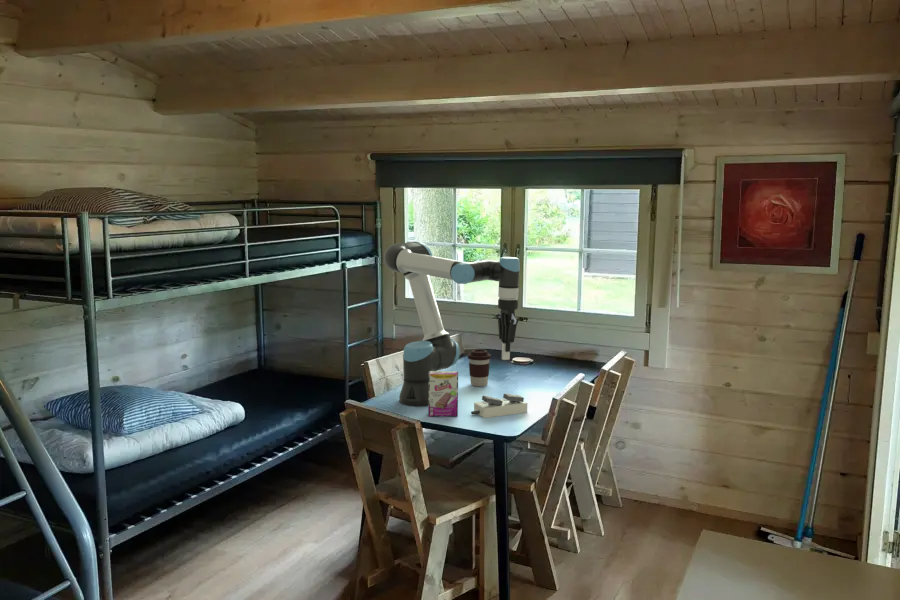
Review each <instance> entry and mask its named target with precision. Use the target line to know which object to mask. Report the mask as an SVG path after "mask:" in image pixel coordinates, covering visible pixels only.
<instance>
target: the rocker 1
mask: <svg viewBox="0 0 900 600" xmlns="http://www.w3.org/2000/svg"><path fill="white" fill-rule="evenodd" d="M500 399H501V398H497V397H492V396H489V395H482V396H481V400H482V401H485V402H488V403H493V404H498V405H502V402H503V401H502V400H500Z"/></svg>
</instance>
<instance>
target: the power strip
mask: <svg viewBox="0 0 900 600" xmlns="http://www.w3.org/2000/svg"><path fill="white" fill-rule="evenodd" d="M499 399H500V400H502V401H503V402H502V405H498V404H493V403H488V402H485V401H483V400H482V401H475V402H474V403H473V410H472V411H471V412H470V413H471V415H472V416H473V415H479V416H481V418H484V419H486V418H496V417H503V416H509V415H515V414H523V413H524V414H526V413H528V402H525V401H524V400H523V402H520V401H511V400H506V399H505V398H499Z"/></svg>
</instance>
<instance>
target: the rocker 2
mask: <svg viewBox="0 0 900 600" xmlns="http://www.w3.org/2000/svg"><path fill="white" fill-rule="evenodd" d="M502 399H506V400H511V401H520V402H523V401H524V399H525V397H523V396H521V395H519V394H513V393H512V394H511V393H503V395H502Z"/></svg>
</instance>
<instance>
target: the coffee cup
mask: <svg viewBox="0 0 900 600" xmlns="http://www.w3.org/2000/svg"><path fill="white" fill-rule="evenodd" d="M491 358H492V354H491V353H489V352H488V350H486V349H483V348H482V349H479V348H478V349H472V350H471V351H470V353H468V354H467V359H468V361H469V362H468V368H469V369H468V370H469V378H470V379H469V380H470V385H471V386H473V387H480V388H481V387H486V386H488V384H489V381H488V380H489V375H490V359H491Z"/></svg>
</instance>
